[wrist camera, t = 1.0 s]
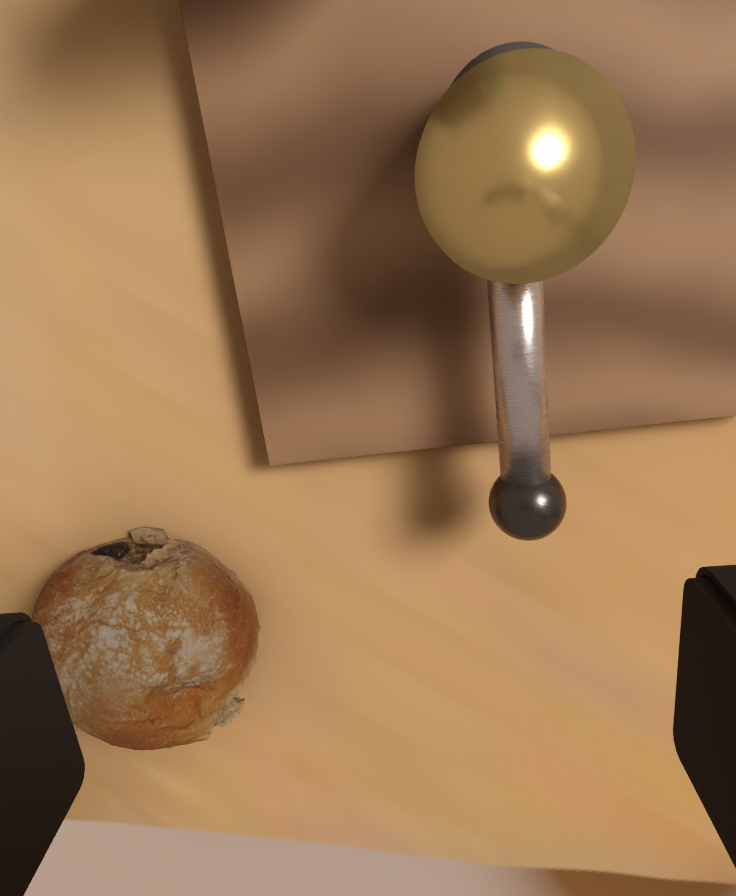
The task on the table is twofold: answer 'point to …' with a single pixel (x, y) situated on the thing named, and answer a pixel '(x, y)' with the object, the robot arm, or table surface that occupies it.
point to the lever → (524, 229)
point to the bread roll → (149, 640)
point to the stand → (416, 253)
